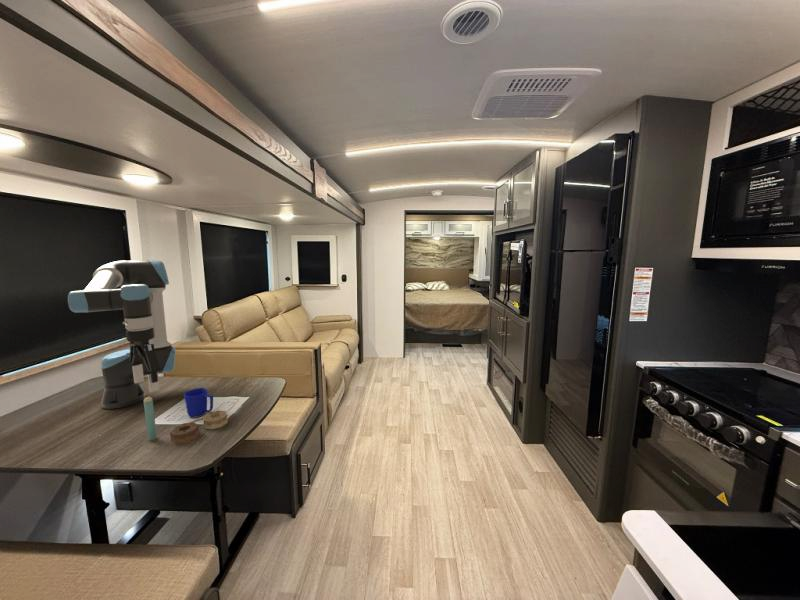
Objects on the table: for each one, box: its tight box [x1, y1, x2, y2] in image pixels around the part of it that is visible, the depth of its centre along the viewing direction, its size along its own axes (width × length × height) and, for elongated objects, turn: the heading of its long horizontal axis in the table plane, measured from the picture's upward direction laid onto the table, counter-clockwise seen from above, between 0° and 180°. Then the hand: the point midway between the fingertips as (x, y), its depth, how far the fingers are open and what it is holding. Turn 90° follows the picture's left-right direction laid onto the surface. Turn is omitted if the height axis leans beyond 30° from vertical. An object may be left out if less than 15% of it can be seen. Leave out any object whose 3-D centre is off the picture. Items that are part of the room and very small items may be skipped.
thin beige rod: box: [186, 414, 206, 423], centre depth 126 cm, size 14×1×1 cm, turn 147°
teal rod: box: [143, 396, 158, 441], centre depth 113 cm, size 2×2×16 cm
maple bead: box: [202, 409, 229, 430], centre depth 124 cm, size 8×8×4 cm
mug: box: [183, 387, 214, 418], centre depth 131 cm, size 8×12×10 cm
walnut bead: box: [169, 421, 200, 445], centre depth 115 cm, size 8×8×4 cm
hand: (146, 386), depth 112 cm, fingers open, 13 cm apart
